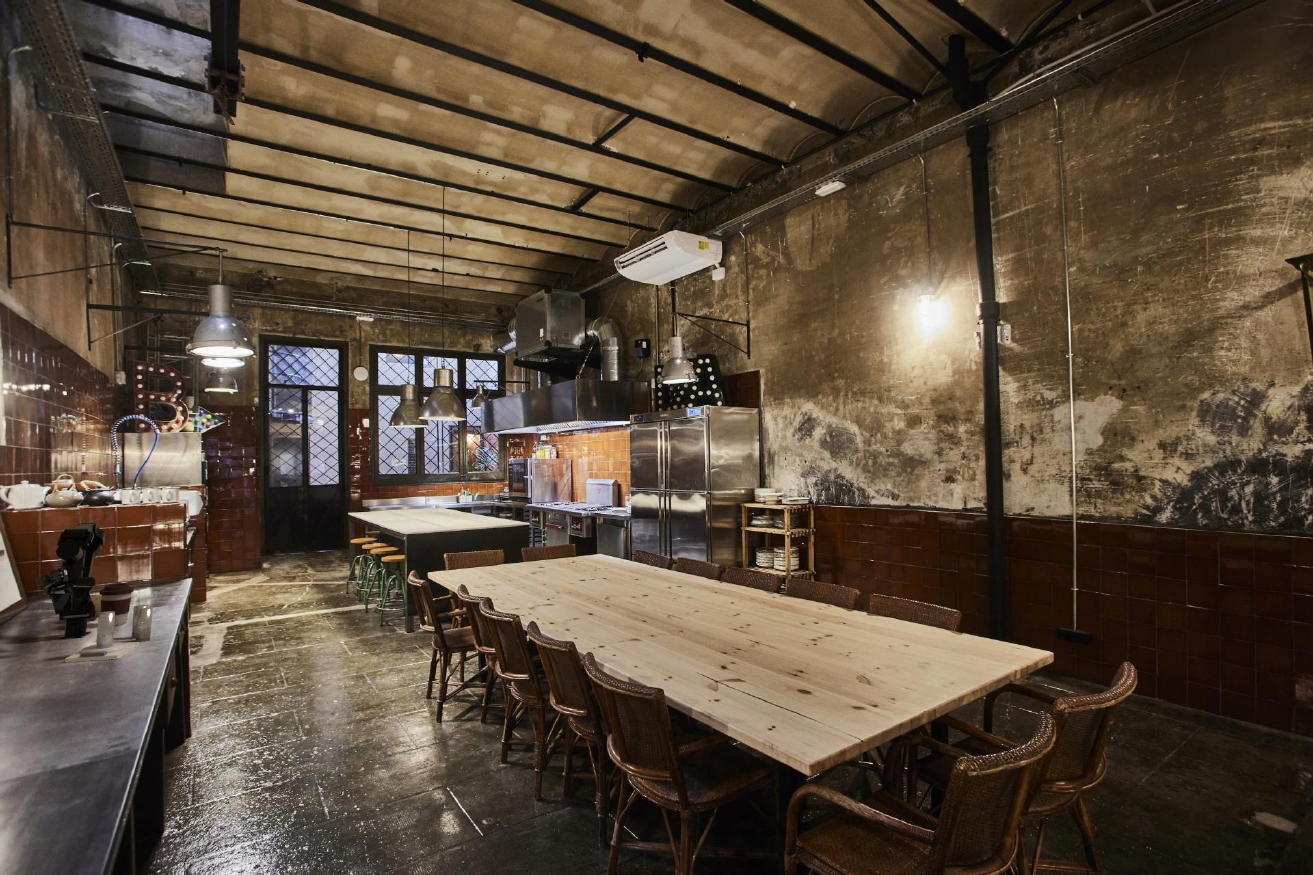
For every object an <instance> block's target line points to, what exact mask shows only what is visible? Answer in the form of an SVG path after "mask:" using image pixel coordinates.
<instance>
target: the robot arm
mask: <svg viewBox="0 0 1313 875" xmlns="http://www.w3.org/2000/svg"><path fill="white" fill-rule="evenodd" d="M105 543H106V535H105V531H104V530H103V529H101V528H100V527H99V526H98V523H96V522H80V523H78V524H77V526H76V527H75V528H64V530H63V531H61V533H60V535H59V538H58V541H57V543H56V545H57V546H56V547H57V548H56V550H55V554H56V557H58V558H59V559H60V560H61V561H60V567H58V568H57V569H54V570H50V571H47V573H46V575H41V576H39V577H35V582H36V586H37V588H41V587H43V588H42V593H41V594H42V595H44V596H45V597H47V598H49V599H50V601H51V603H52V606H53V610H54V614H55V615H58V621H59V622H62V621H65V623H64V634H63V635H61V636H59V639H73V638H76V639H77V638H84V637H86V636H87V635H89V634H91V633H92V631H87V630H88V629H87V626H88V620H87V618H92V617H95V605H94V604H93V601H92V600H91V596H90V595H91V594H90V591H91V590H92V589H93V588H94V586H96V585H97V579H96V578H95V577H94V576H92V570H93V565H94V561H95V560H94V559H95V558H96V556H98V555H99V554H100V553H101V552H102V548H103V546H105ZM87 613H89V614H87Z"/></svg>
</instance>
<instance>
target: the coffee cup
mask: <svg viewBox="0 0 1313 875" xmlns="http://www.w3.org/2000/svg"><path fill="white" fill-rule="evenodd" d="M134 589H135V588H134V587H132V586H130V584H129V583H112V584H106V585H105V586H104V588H102V589H100V590H99V592H98V595H101V612H108V611H114V612H115V619H114V627H118V626H122V625H125V624H127V623H128V616H129V612H130V608H131V603H132V602H131V601H132V593H133V592H134Z"/></svg>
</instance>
